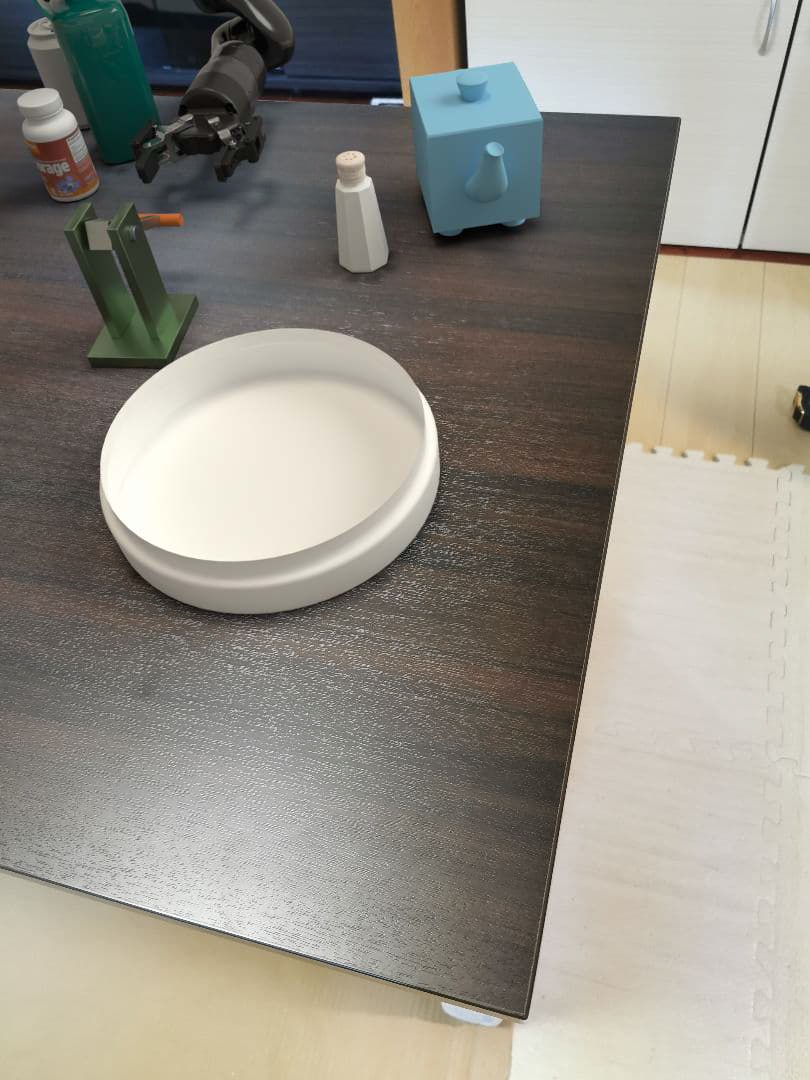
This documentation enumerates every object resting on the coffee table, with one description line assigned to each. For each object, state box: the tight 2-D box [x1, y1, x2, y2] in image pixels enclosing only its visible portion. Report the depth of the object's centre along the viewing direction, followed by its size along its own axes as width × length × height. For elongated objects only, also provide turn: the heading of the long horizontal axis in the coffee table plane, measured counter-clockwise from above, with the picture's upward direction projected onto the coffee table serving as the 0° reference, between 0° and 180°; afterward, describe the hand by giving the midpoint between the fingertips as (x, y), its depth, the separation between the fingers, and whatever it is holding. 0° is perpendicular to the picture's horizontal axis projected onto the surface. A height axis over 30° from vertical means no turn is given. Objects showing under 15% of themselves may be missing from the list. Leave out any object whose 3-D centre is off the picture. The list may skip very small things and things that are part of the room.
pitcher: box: [31, 0, 163, 165], centre depth 100 cm, size 10×8×22 cm
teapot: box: [408, 61, 544, 237], centre depth 86 cm, size 22×11×14 cm, turn 7°
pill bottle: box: [16, 87, 100, 203], centre depth 98 cm, size 6×6×11 cm
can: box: [26, 16, 90, 130], centre depth 110 cm, size 8×8×12 cm
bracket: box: [62, 201, 200, 369], centre depth 78 cm, size 10×8×13 cm
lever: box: [85, 213, 184, 251], centre depth 79 cm, size 13×5×2 cm, turn 173°
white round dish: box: [99, 327, 441, 615], centre depth 67 cm, size 27×27×6 cm
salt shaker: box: [334, 150, 390, 274], centre depth 84 cm, size 5×5×11 cm
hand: (180, 174), depth 89 cm, fingers open, 8 cm apart
